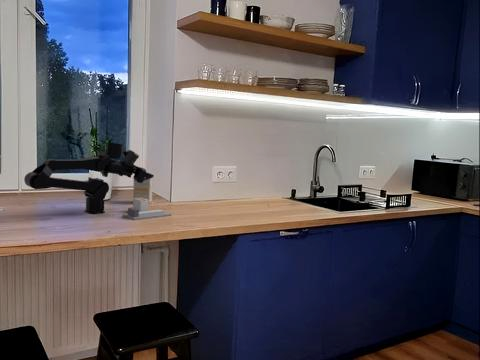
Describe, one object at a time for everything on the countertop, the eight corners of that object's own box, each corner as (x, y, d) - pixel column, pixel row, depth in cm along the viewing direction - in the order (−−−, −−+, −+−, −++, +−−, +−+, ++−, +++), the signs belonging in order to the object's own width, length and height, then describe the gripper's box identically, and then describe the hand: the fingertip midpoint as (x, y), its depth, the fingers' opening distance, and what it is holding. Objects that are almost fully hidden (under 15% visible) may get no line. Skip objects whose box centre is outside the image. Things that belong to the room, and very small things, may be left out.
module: (140, 213, 189) (140, 200, 189) (132, 210, 193) (133, 197, 193) (148, 212, 192) (148, 199, 191) (140, 209, 196) (141, 197, 196)
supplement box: (152, 202, 215) (153, 175, 213) (149, 204, 210) (150, 176, 209) (135, 200, 216) (136, 174, 214) (132, 202, 211) (133, 175, 209)
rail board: (134, 220, 176) (135, 211, 176) (123, 215, 182) (123, 207, 182) (171, 215, 189) (171, 207, 188) (159, 211, 195) (159, 203, 195)
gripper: (132, 155, 181) (163, 161, 192) (113, 144, 195) (143, 151, 206) (125, 180, 183) (156, 185, 194) (106, 168, 196) (136, 173, 207)
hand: (148, 173), depth 200 cm, fingers open, 9 cm apart
